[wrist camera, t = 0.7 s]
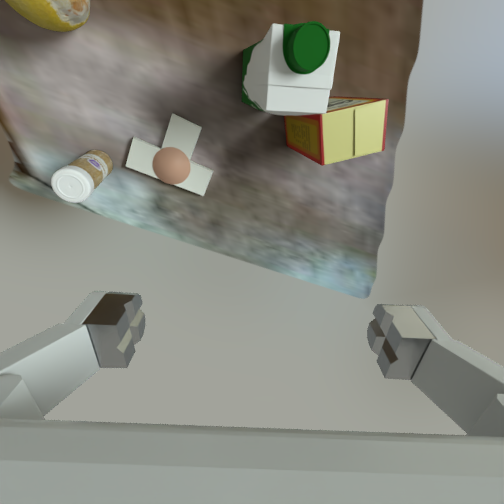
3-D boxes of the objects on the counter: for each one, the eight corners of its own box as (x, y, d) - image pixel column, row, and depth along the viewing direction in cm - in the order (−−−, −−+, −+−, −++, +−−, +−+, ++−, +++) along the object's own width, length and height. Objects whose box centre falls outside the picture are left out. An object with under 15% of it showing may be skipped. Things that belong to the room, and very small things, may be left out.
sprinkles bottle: (117, 158, 47) (95, 180, 35) (107, 181, 48) (83, 209, 37) (88, 143, 45) (56, 161, 33) (79, 167, 46) (44, 193, 35)
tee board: (144, 99, 43) (143, 99, 42) (225, 138, 49) (226, 139, 48) (126, 166, 48) (125, 167, 47) (202, 195, 53) (203, 197, 52)
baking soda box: (287, 146, 52) (323, 166, 38) (283, 107, 48) (321, 114, 35) (334, 134, 52) (385, 150, 39) (333, 96, 49) (390, 99, 35)
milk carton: (291, 47, 44) (357, 21, 27) (284, 110, 48) (338, 122, 32) (237, 41, 42) (272, 10, 25) (235, 108, 47) (264, 119, 30)
